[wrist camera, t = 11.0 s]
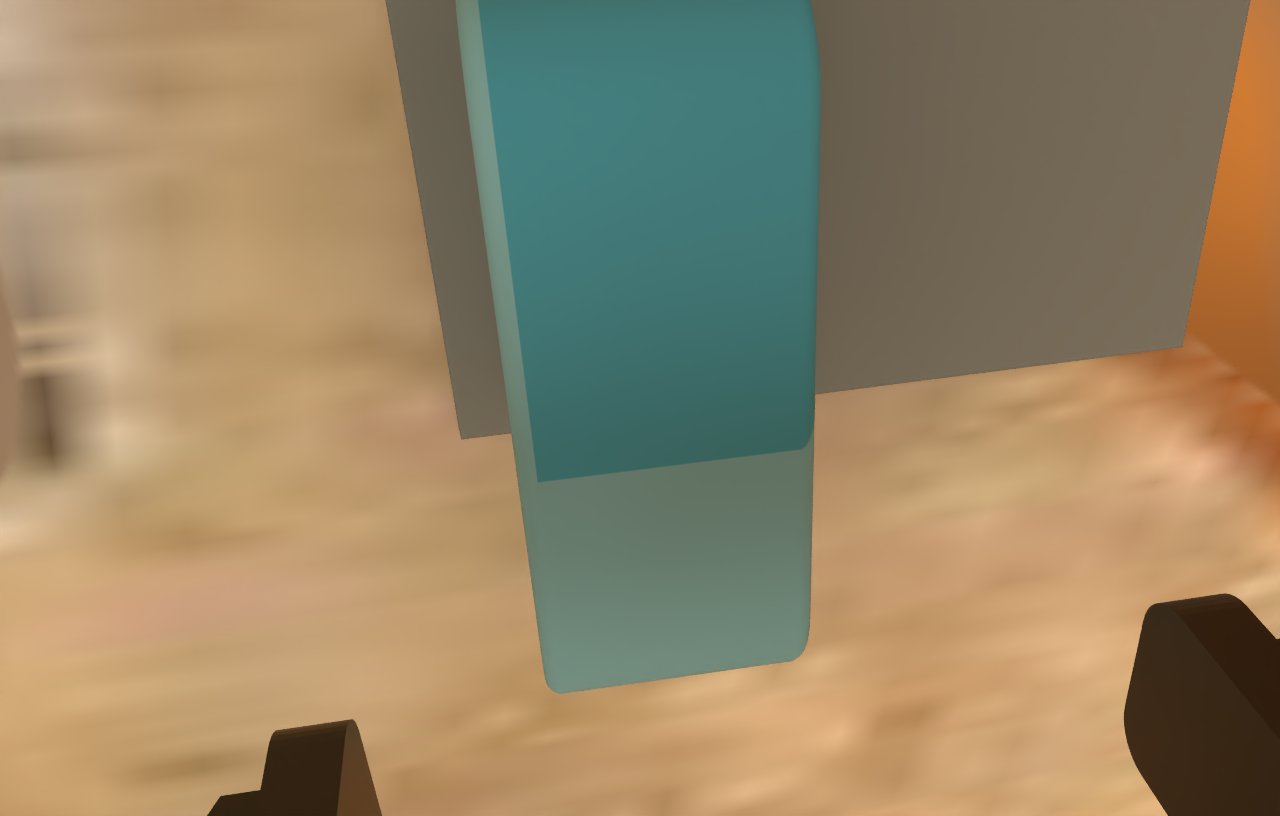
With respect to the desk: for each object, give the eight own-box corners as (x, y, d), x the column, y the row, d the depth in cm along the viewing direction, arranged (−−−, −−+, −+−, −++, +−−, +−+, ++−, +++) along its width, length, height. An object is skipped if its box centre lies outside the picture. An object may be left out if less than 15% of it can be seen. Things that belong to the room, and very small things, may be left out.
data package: (691, 374, 30) (812, 700, 20) (519, 394, 30) (552, 737, 19) (670, -127, 24) (829, -32, 14) (454, -110, 24) (451, 1, 13)
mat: (362, -152, 24) (359, -150, 23) (1278, -229, 25) (1295, -228, 25) (461, 427, 31) (461, 439, 30) (1170, 337, 32) (1182, 347, 32)
